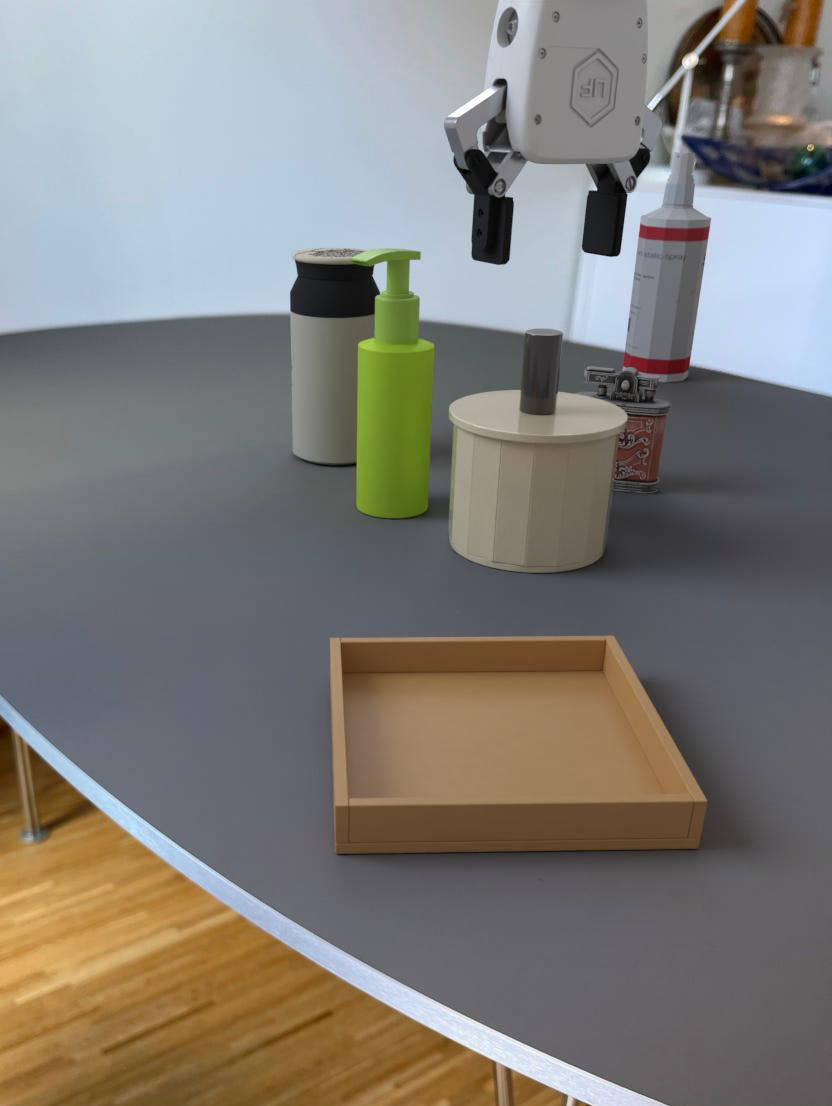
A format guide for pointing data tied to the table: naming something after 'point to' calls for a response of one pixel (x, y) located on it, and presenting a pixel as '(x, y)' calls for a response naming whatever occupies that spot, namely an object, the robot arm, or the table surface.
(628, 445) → the lighter
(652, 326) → the glue bottle
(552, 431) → the tin lid
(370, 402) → the soap dispenser
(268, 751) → the table surface
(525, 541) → the tin
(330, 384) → the travel mug
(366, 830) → the tray
